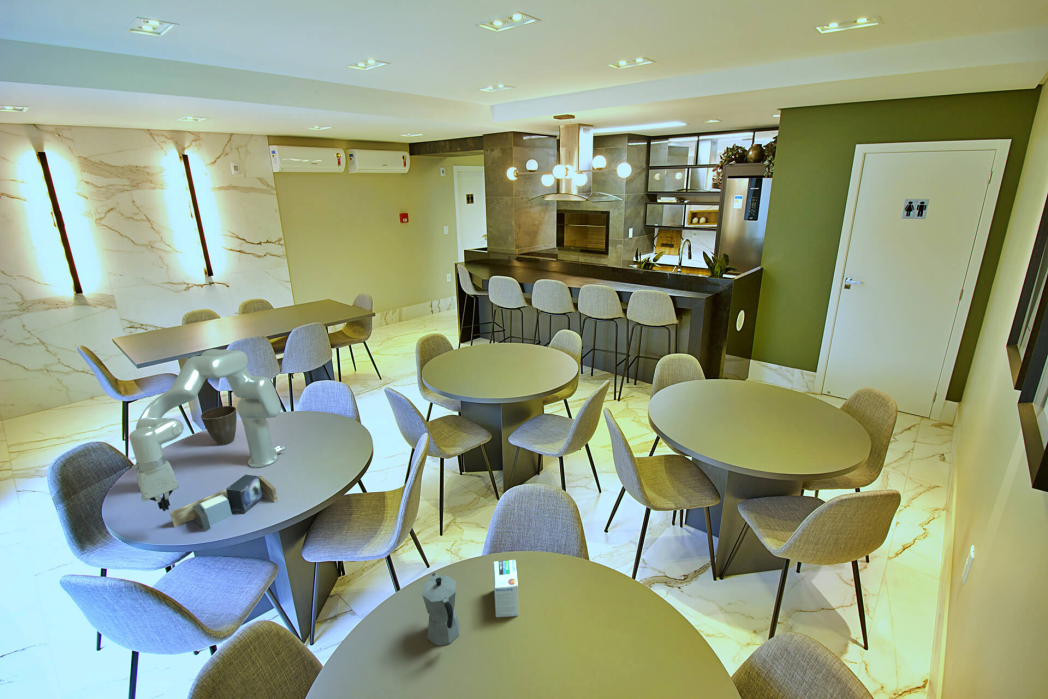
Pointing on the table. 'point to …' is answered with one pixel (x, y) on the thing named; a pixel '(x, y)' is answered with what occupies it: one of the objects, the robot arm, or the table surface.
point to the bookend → (201, 517)
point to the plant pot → (221, 424)
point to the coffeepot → (441, 609)
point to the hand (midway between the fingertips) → (165, 508)
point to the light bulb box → (506, 588)
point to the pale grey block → (216, 509)
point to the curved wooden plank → (187, 511)
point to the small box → (244, 494)
